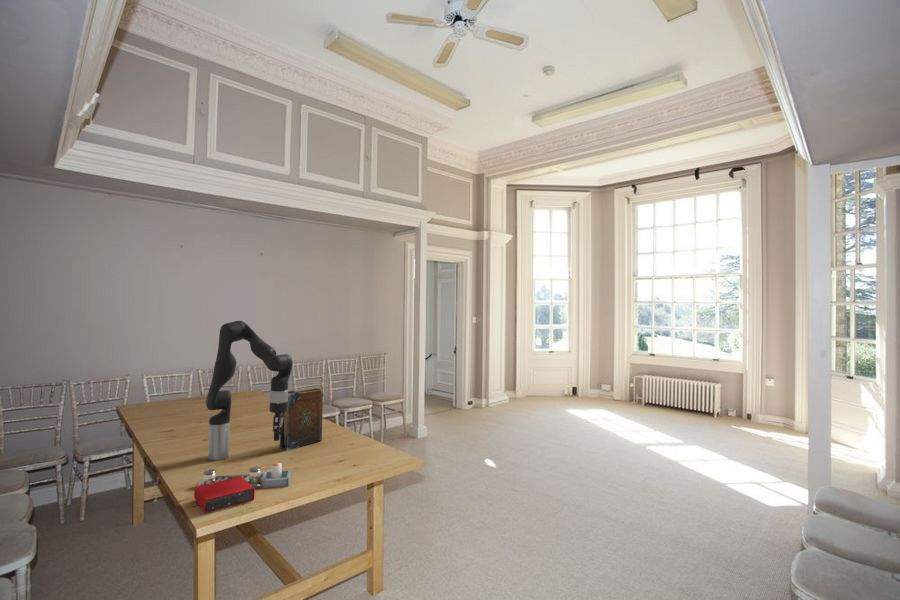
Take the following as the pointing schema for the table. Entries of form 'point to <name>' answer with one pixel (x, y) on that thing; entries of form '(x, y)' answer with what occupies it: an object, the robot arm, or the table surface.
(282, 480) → the tray
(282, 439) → the decorative book
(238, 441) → the table surface
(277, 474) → the halved boiled egg
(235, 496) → the red device housing
